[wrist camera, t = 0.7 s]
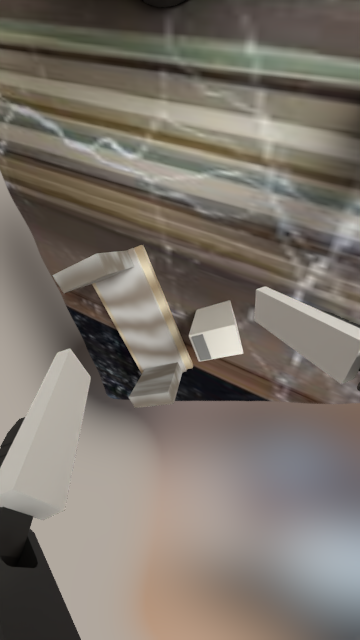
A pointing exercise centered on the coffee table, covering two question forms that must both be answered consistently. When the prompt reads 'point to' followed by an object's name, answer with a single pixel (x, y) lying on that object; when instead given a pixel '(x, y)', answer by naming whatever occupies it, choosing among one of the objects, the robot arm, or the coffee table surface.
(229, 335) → the block
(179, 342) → the board
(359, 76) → the coffee table surface
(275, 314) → the robot arm
